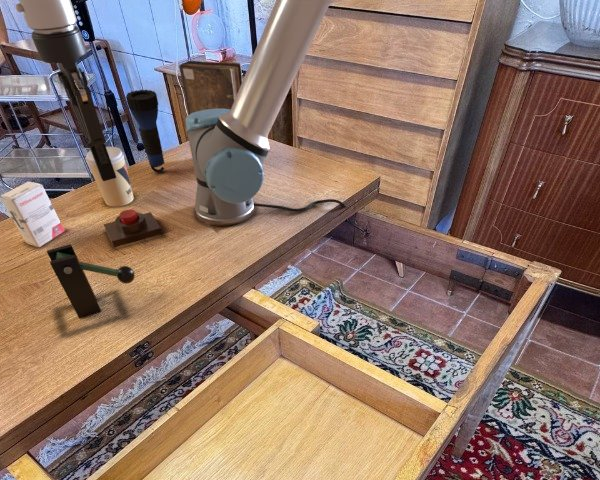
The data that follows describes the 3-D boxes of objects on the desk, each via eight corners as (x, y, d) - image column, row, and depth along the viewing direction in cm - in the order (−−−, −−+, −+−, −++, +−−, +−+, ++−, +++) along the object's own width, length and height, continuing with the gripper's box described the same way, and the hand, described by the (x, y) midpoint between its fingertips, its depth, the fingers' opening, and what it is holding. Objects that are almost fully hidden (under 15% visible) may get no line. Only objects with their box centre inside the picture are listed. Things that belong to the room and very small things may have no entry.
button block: (153, 220, 114) (148, 204, 111) (163, 236, 109) (158, 220, 106) (106, 232, 111) (100, 217, 108) (114, 249, 106) (108, 234, 103)
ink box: (51, 226, 113) (28, 179, 104) (65, 231, 112) (43, 183, 102) (24, 243, 108) (-3, 195, 99) (38, 248, 107) (12, 200, 98)
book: (194, 161, 136) (175, 63, 117) (206, 153, 140) (190, 56, 121) (240, 171, 131) (228, 69, 112) (252, 161, 135) (242, 62, 116)
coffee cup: (137, 205, 119) (122, 158, 110) (102, 210, 118) (84, 163, 109) (136, 189, 125) (121, 143, 116) (102, 194, 124) (84, 148, 114)
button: (136, 214, 109) (133, 208, 107) (140, 222, 107) (138, 215, 105) (119, 219, 108) (117, 212, 106) (123, 226, 105) (121, 219, 104)
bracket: (114, 292, 95) (89, 233, 84) (124, 316, 90) (99, 256, 79) (56, 310, 91) (23, 250, 81) (64, 336, 86) (29, 276, 76)
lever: (129, 279, 91) (134, 264, 90) (134, 288, 90) (138, 273, 88) (53, 264, 82) (57, 247, 81) (56, 273, 80) (60, 256, 79)
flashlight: (179, 172, 132) (161, 93, 116) (156, 180, 128) (135, 101, 113) (164, 164, 136) (145, 87, 120) (142, 172, 132) (119, 94, 117)
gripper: (22, 24, 73) (82, 171, 91) (37, 40, 66) (99, 196, 84) (68, 17, 75) (118, 162, 94) (87, 31, 68) (137, 185, 86)
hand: (109, 178), depth 89 cm, fingers closed
